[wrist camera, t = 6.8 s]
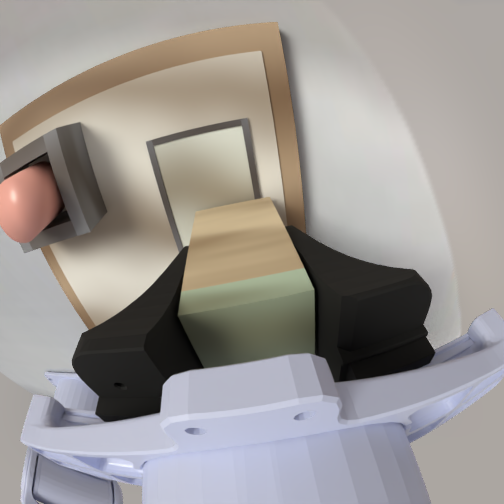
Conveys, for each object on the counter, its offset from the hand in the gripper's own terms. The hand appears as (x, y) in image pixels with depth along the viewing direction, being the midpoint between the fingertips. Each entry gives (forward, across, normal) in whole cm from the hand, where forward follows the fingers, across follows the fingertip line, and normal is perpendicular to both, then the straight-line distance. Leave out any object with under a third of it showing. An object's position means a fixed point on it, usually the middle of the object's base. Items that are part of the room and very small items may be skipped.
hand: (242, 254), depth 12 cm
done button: (+1, +9, -5) cm, 10 cm away
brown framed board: (+3, +4, -1) cm, 6 cm away
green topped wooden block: (+2, 0, 0) cm, 2 cm away
